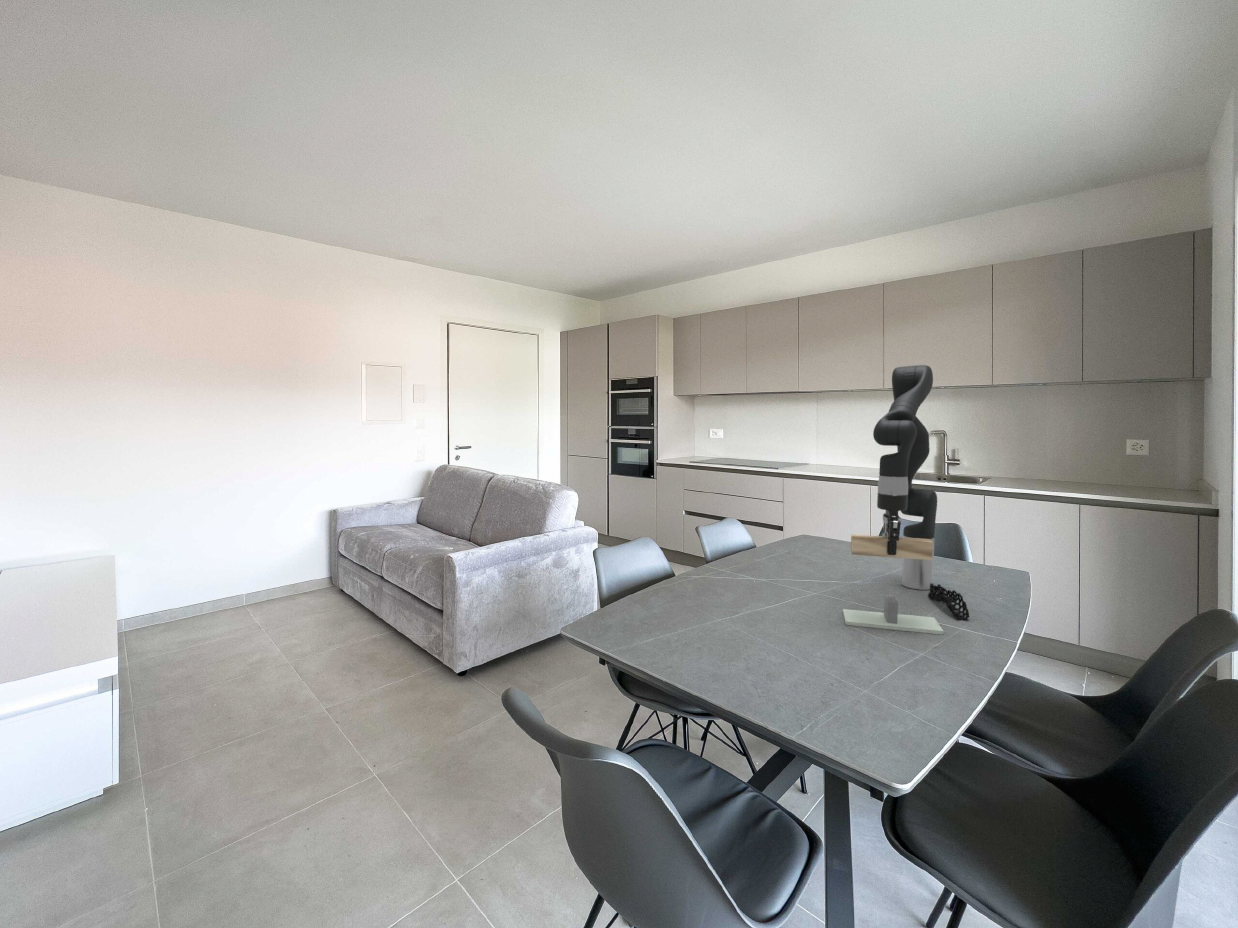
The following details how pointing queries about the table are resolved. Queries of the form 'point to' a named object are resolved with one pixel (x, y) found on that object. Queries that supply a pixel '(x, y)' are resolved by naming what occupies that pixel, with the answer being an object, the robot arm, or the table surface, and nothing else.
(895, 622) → the fulcrum
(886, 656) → the table surface
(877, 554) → the plank
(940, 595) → the decorative element
